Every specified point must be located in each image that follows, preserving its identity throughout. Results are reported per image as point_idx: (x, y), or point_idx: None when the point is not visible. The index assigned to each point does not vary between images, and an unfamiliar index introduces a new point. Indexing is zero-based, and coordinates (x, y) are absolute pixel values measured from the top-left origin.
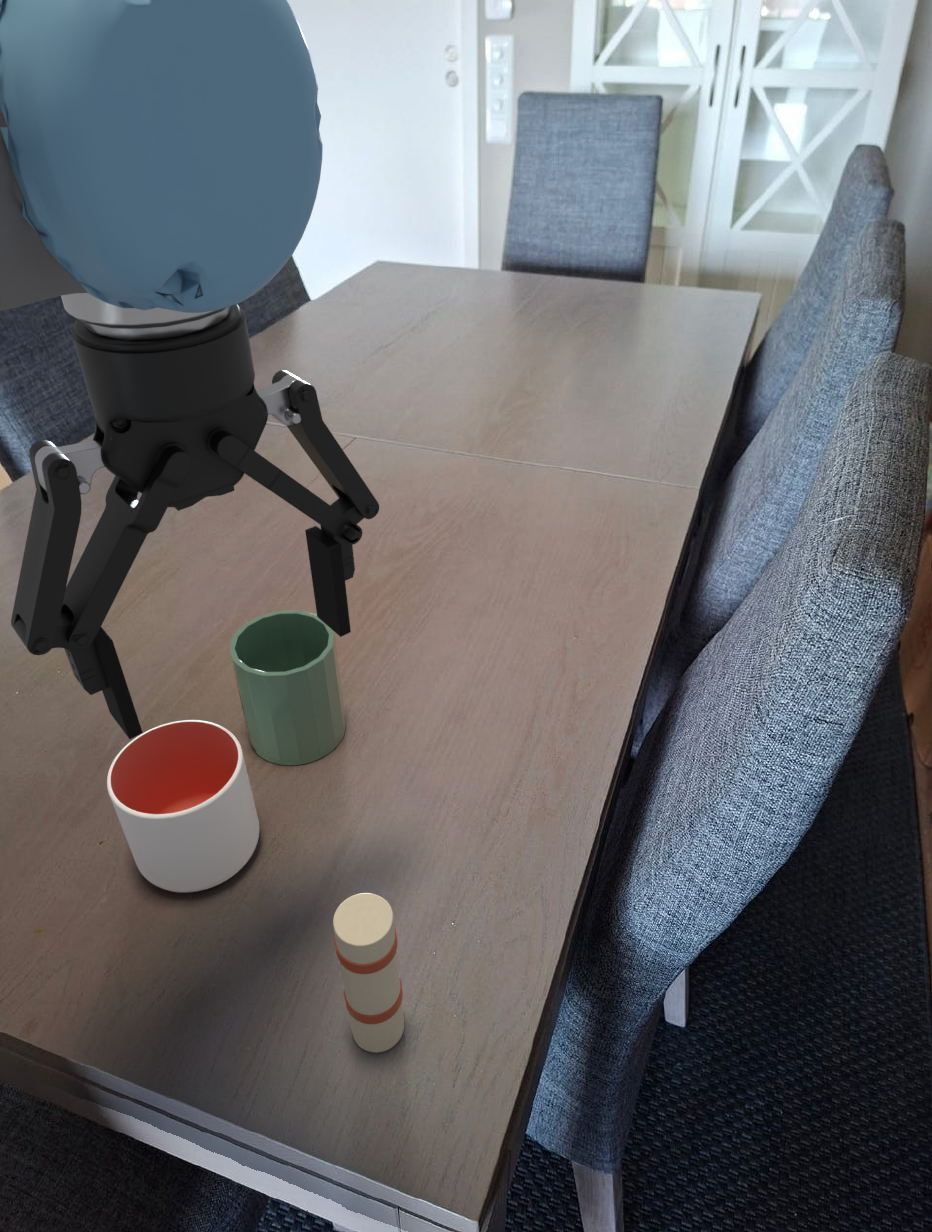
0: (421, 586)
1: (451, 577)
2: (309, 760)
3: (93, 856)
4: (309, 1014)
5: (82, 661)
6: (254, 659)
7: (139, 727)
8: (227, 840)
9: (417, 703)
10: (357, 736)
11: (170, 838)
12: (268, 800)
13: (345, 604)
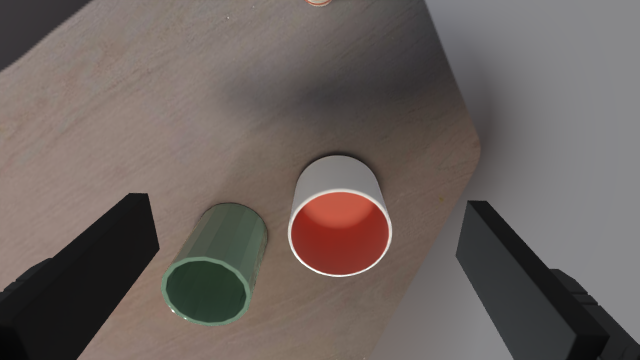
0: None
1: None
2: (240, 205)
3: None
4: (349, 30)
5: (604, 324)
6: (231, 295)
7: (474, 205)
8: (331, 168)
9: None
10: (199, 203)
11: (370, 187)
12: (281, 195)
13: (99, 222)
